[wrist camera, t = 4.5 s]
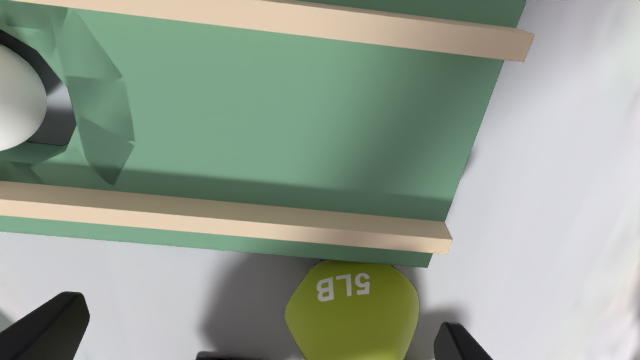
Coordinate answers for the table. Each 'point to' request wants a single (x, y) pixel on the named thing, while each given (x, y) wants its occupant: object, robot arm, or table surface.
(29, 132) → the golf ball
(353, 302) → the dumbbell
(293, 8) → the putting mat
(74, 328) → the robot arm
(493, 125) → the table surface
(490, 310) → the table surface
